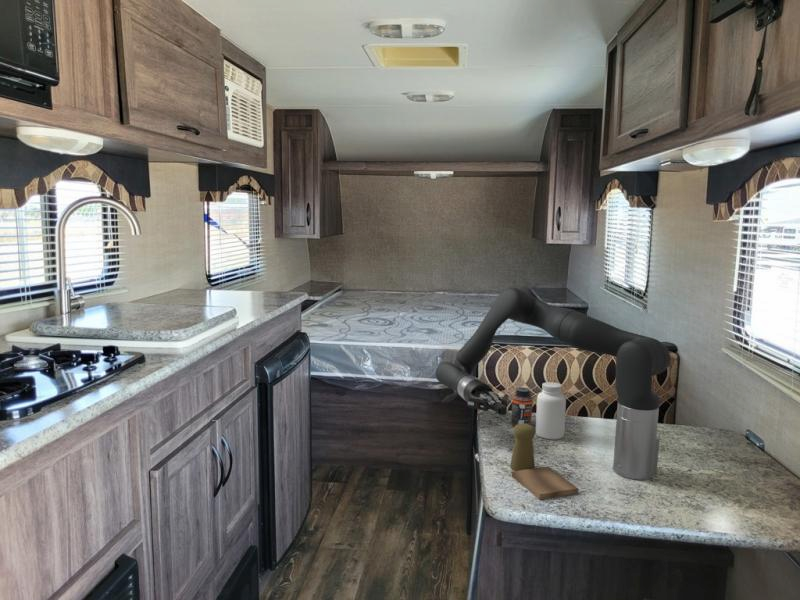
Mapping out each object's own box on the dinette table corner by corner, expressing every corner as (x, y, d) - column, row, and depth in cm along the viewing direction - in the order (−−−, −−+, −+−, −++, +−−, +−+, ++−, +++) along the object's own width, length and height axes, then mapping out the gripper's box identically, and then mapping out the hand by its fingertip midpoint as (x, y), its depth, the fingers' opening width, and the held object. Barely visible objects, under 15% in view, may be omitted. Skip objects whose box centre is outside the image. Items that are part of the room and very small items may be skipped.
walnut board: (547, 471, 140) (548, 466, 140) (577, 493, 129) (578, 488, 129) (511, 476, 137) (511, 471, 137) (539, 499, 126) (539, 494, 126)
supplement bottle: (525, 430, 167) (527, 393, 165) (507, 426, 170) (509, 389, 169) (534, 425, 172) (536, 388, 170) (516, 420, 175) (518, 385, 174)
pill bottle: (531, 430, 167) (533, 380, 165) (557, 429, 168) (560, 380, 166) (540, 440, 159) (543, 388, 157) (568, 440, 160) (571, 388, 158)
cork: (505, 464, 143) (507, 422, 142) (525, 461, 146) (527, 419, 144) (519, 474, 138) (521, 431, 136) (539, 470, 140) (542, 427, 139)
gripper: (454, 380, 163) (481, 399, 147) (495, 377, 168) (526, 395, 151) (453, 405, 165) (480, 427, 148) (494, 402, 169) (524, 422, 153)
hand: (503, 411), depth 150 cm, fingers closed
